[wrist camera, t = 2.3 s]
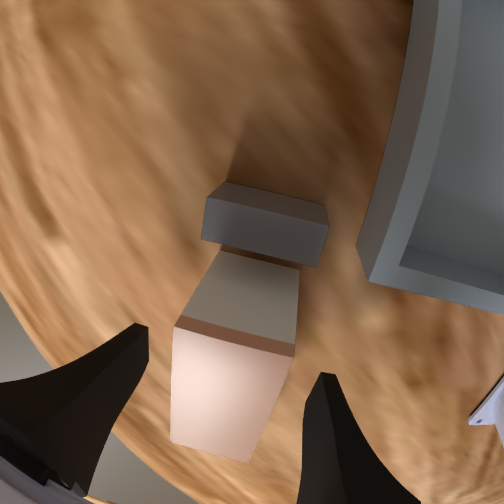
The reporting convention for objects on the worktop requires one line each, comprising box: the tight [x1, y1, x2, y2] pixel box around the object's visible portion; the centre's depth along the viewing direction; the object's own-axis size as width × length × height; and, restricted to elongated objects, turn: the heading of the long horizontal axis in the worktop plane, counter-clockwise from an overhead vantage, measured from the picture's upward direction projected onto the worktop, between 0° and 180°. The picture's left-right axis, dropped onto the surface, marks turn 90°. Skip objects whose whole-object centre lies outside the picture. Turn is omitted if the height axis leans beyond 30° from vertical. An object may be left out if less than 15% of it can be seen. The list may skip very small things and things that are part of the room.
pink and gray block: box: [171, 250, 300, 462], centre depth 13 cm, size 4×7×6 cm, turn 169°
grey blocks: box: [201, 182, 330, 268], centre depth 14 cm, size 4×13×2 cm, turn 169°
